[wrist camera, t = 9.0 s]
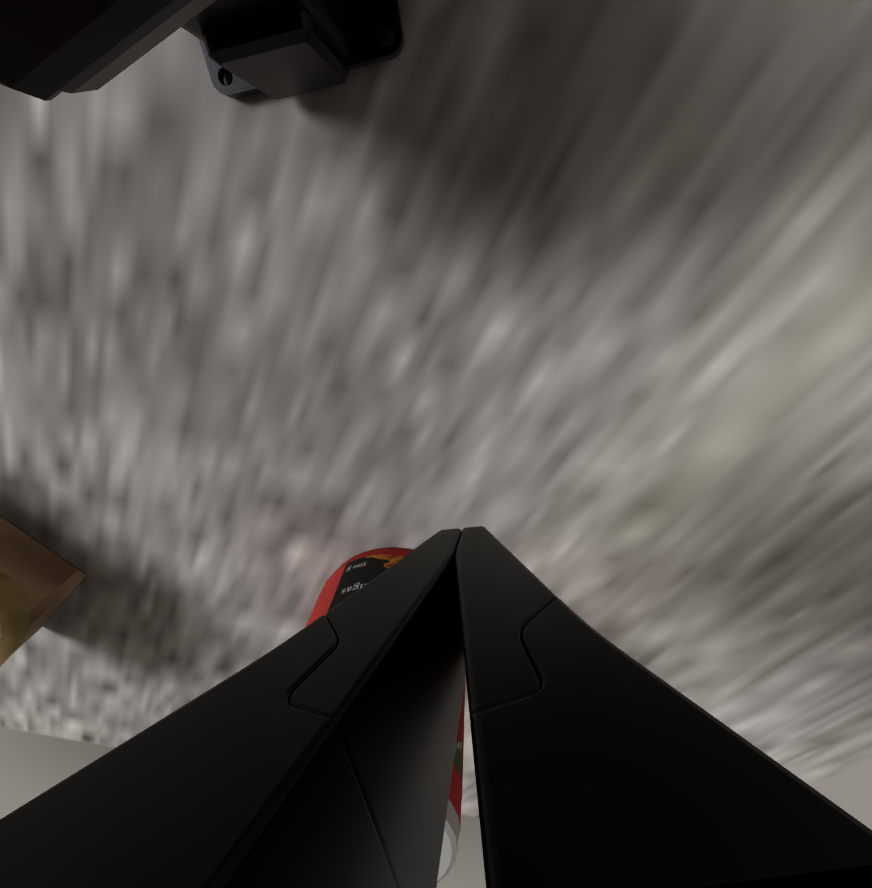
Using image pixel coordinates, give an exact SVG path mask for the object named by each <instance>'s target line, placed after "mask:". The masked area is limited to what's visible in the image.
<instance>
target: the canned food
mask: <svg viewBox="0 0 872 888" xmlns="http://www.w3.org/2000/svg"><path fill="white" fill-rule="evenodd" d="M410 552H411V550H407V549H399V548H382V549H375V550H370V551H366V552H363V553H361V554H359V555H356V556H354V557H352V558H351V559H349V560H348V561H347V562H345V563H344V564H343V565H342V566H340V567H339V568H338V569H337V570H336V571H335V573H334V574H333V575H332V576H331V577H330V578H329V579H328V580H327V582H326V583H325V585H324V587H323V589H322V591H321V593H320V595H319V598H318V600H317V602H316V604H315V607H314V609H313V611H312V614H311V616H310V618H309V620H308V623H307V625H306V627H307V626H308V625H310V624H311V623H312V622H314V621H315V620H316V619H318V618H319V617H320V616H322V615H324V616H325V615H326V613H327V612H329V611H330V610H331V609H333V608H334V607H336V606H337V605H338V604H340V603H341V602H342V601H344V600H345V599H347V598H348V597H349V596H351V595H352V594H354V593H355V592H356V591H358V590H359V589H360V588H362V587H363V586H365V585H366V584H367V583H369V582H370V581H371V580H373V579H374V578H376V577H377V576H378V575H380V574H381V573H382V572H384V571H385V570H387V569H388V568H389V567H391V566H392V565H393V564H395V563H396V562H398V561H399V560H400V559H402V558H403V557H405V556H406V555H407V554H409V553H410ZM464 706H465V682H464V690H463V697H462V704H461V712H460V719H459V726H458V733H457V741H456V748H455V755H454V763H453V770H452V777H451V784H450V792H449V799H448V806H447V814H446V821H445V828H444V835H443V843H442V850H441V857H440V865H439V872H438V879H437V883H438V882H440V881H441V880H442V879H443V878H444V877H445V876H446V875H447V874H448V873H449V871H450V870H451V868H452V867H453V865H454V863H455V860H456V855H457V850H458V839H459V834H460V823H461V822H460V821H461V800H462V779H463V743H464Z"/></svg>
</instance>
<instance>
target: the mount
mask: <svg viewBox="0 0 872 888" xmlns="http://www.w3.org/2000/svg"><path fill="white" fill-rule="evenodd" d="M0 571H1V572H2V573H4V574H6V575H8V576H9V577H10V578H12V579H13V580H14V581H15V582H16V583H17V584H18V585H19V586H20V587H21V589H22V590H23V591H24V593H25V595H26V597H27V599H28V602H29V606H30V622H29V627H28V630H27V632H26V635H25V637H24V638H23V640H22V642H21V643H20V645H19V646H18V647H17V649H18V648H19V647H21V646H22V645H23V644H24V643H25V642H26V641H27V640H28V639H29V638H30V637H31V636H33V635H34V634H35V633H36V632H37V631H38V630H39V629H40V628H41V627H42V626H43V625H44V624H45V623H46V622H47V620H48V619H49V618H50V617H51V616H52V615H53V613H54V612H55V611H56V610H57V609H58V608H59V607H60V605H61V604H62V603H63V602H64V601H65V600H66V599H67V597H68V596H69V595H70V594H71V593H72V592H73V590H74V589H75V588H76V587H77V586H78V585H79V584H80V582H81V581H82V580H83V579H84V578H85V577H86V575H85V574H84V573H82V572H81V571H80V570H78V569H77V568H75V567H74V566H72V565H71V564H69V563H68V562H66V561H65V560H63V559H62V558H60V557H59V556H58V555H56V554H55V553H53V552H52V551H50V550H49V549H47V548H46V547H44V546H43V545H41V544H40V543H39V542H37V541H36V540H34V539H33V538H31V537H30V536H28V535H27V534H25V533H24V532H22V531H21V530H19V529H18V528H17V527H15V526H14V525H12V524H11V523H9V522H8V521H6V520H5V519H3V518H2V517H0ZM17 649H16V650H17ZM16 650H15V651H16ZM15 651H14V652H15ZM14 652H13V653H14ZM13 653H12V654H13Z"/></svg>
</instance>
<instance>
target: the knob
mask: <svg viewBox="0 0 872 888" xmlns="http://www.w3.org/2000/svg"><path fill="white" fill-rule="evenodd" d="M29 622H30V606H29V602H28V599H27V597H26V595H25V593H24V591H23V590H22V589H21V587H20V586H19V585H18V584H17V583H16V582H15V581H14V580H13V579H12V578H10V577H9V576H8V575H6V574H4V573H2V572H1V571H0V667H1V666H2V665H3V664H4V663H5V662H6V660H7V659H8V658H9V657H10V656H11V655H12V653H13V652H14V651H15V650H16V649H17V647H18V646H19V645H20V643H21V642H22V640H23V638H24V637H25V635H26V632H27V630H28V627H29Z"/></svg>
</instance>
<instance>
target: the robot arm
mask: <svg viewBox="0 0 872 888" xmlns="http://www.w3.org/2000/svg"><path fill="white" fill-rule="evenodd" d="M180 27H182V28H184V29H185V30H187V31H188V32H190V33H191V34H193V35H194V36H196V37H197V38H199V40H200V44H201V47H202V50H203V54H204V57H205V60H206V64H207V67H208V70H209V74H210V77H211V80H212V83H213V85H214V87H215V88H216V89H217V90H218V91H219V92H220V93H222V94H224V95H226V96H228V97H230V98H237V97H241V96H245V95H249V94H253V93H257V92H261V91H262V92H264V93H266V94H267V95H269V96H270V97H272V98H274V99H281V98H285V97H289V96H293V95H297V94H301V93H305V92H309V91H314V90H318V89H322V88H326V87H330V86H334V85H338V84H342V83H344V82H345V81H346V79H347V77H348V75H349V71H348V70H350V69H354V68H358V67H363V66H367V65H371V64H375V63H379V62H383V61H387V60H391V59H393V58H395V57H397V56H398V55H399V54H400V52H401V51H402V48H403V45H404V34H403V28H402V22H401V15H400V9H399V3H398V0H0V84H1V85H4V86H6V87H9V88H11V89H14V90H17V91H20V92H23V93H25V94H28V95H31V96H34V97H37V98H39V99H42V100H45V101H46V100H52V99H53V98H54V97H56V96H57V95H58V94H59V93H61V92H62V91H63V92H67V93H77V92H84V91H91V90H98V89H99V88H101V87H102V86H103V85H105V84H106V83H107V82H109V81H110V80H111V79H113V78H114V77H115V76H117V75H118V74H119V73H121V72H122V71H123V70H125V69H126V68H127V67H128V66H130V65H131V64H132V63H134V62H135V61H136V60H138V59H139V58H140V57H142V56H143V55H144V54H146V53H147V52H148V51H150V50H151V49H152V48H154V47H155V46H156V45H158V44H159V43H160V42H162V41H163V40H164V39H166V38H167V37H168V36H170V35H171V34H172V33H173V32H175V31H176V30H177V29H179V28H180ZM386 30H391V31H392V32H394V41H393V43H392V44H391V45H389V46H384V45H383V44H381V36H382V34H383V32H385V31H386ZM227 71H229V72H231V73H232V75H233V81H232V83H231V84H230V85H229V86H226V85H225V83H224V74H225V73H226V72H227ZM465 675H466V681H467V691H468V702H469V712H470V721H471V734H472V744H473V755H474V765H475V776H476V786H477V796H478V807H479V817H480V827H481V838H482V848H483V859H484V868H485V880H486V888H872V830H871V829H869V828H868V827H867V826H865V825H864V824H862V823H861V822H860V821H858V820H857V819H855V818H854V817H853V816H851V815H850V814H848V813H847V812H846V811H844V810H843V809H841V808H840V807H839V806H837V805H836V804H835V803H833V802H832V801H830V800H829V799H827V798H826V797H825V796H823V795H822V794H820V793H819V792H818V791H816V790H815V789H814V788H812V787H811V786H809V785H808V784H807V783H805V782H804V781H803V780H801V779H800V778H798V777H797V776H796V775H794V774H793V773H791V772H790V771H789V770H787V769H786V768H784V767H783V766H782V765H780V764H779V763H777V762H776V761H775V760H773V759H772V758H771V757H769V756H768V755H766V754H765V753H764V752H762V751H761V750H759V749H758V748H757V747H755V746H754V745H752V744H751V743H750V742H748V741H747V740H745V739H744V738H743V737H741V736H740V735H739V734H737V733H736V732H734V731H733V730H732V729H730V728H729V727H727V726H726V725H725V724H723V723H722V722H720V721H719V720H718V719H716V718H715V717H713V716H712V715H711V714H709V713H708V712H706V711H705V710H704V709H702V708H701V707H700V706H698V705H697V704H695V703H694V702H693V701H691V700H690V699H688V698H687V697H686V696H684V695H683V694H681V693H680V692H679V691H677V690H676V689H674V688H673V687H672V686H670V685H669V684H668V683H666V682H665V681H663V680H662V679H661V678H659V677H658V676H656V675H655V674H654V673H652V672H651V671H649V670H648V669H647V668H645V667H644V666H642V665H641V664H640V663H638V662H637V661H635V660H634V659H633V658H631V657H630V656H629V655H627V654H626V653H624V652H623V651H622V650H620V649H619V648H617V647H616V646H615V645H614V644H612V643H611V642H610V641H608V640H607V639H606V638H604V637H603V636H602V635H600V634H599V633H598V632H597V631H595V630H594V629H593V628H591V627H590V626H589V625H588V624H587V623H586V622H585V621H583V620H582V619H581V618H580V617H579V616H578V615H577V614H576V613H574V612H573V611H572V610H571V609H570V608H569V607H568V606H567V605H566V604H565V603H564V602H563V601H562V600H560V599H558V598H557V597H556V596H555V595H554V594H553V593H552V592H551V591H550V590H549V589H548V588H547V587H546V586H545V585H544V584H543V583H542V582H541V581H540V580H539V579H538V578H537V577H536V576H535V575H534V574H533V573H531V572H530V571H529V570H528V569H527V568H526V567H525V566H524V565H523V564H522V563H521V562H520V561H519V560H518V559H517V558H516V557H515V556H514V555H513V554H512V553H511V552H510V551H509V550H508V549H507V548H505V547H504V546H503V545H502V544H501V543H500V542H499V541H498V540H497V539H496V538H495V537H494V536H493V535H492V534H491V533H490V532H489V531H488V530H487V529H486V528H485V527H482V526H480V527H469V528H464V529H463V530H462V531H461V530H460V529H447V530H441V531H439V532H438V533H436V534H435V535H433V536H432V537H431V538H429V539H428V540H427V541H425V542H424V543H422V544H421V545H420V546H418V547H417V548H416V549H414V550H413V551H411V552H410V553H409V554H407V555H406V556H405V557H403V558H402V559H400V560H399V561H398V562H396V563H395V564H393V565H392V566H391V567H389V568H388V569H387V570H385V571H384V572H382V573H381V574H380V575H378V576H377V577H376V578H374V579H373V580H371V581H370V582H369V583H367V584H366V585H365V586H363V587H362V588H360V589H359V590H358V591H356V592H355V593H354V594H352V595H351V596H349V597H348V598H347V599H345V600H344V601H342V602H341V603H340V604H338V605H337V606H336V607H334V608H333V609H331V610H330V611H329V612H327V613H326V615H325V616H324V615H322V616H320V617H319V618H318V619H316V620H315V621H314V622H312V623H311V624H310V625H308V626H307V627H305V628H304V629H302V630H301V631H300V632H298V633H297V634H295V635H294V636H292V637H291V638H289V639H288V640H287V641H285V642H284V643H282V644H281V645H279V646H278V647H276V648H275V649H273V650H272V651H270V652H268V653H267V654H265V655H264V656H262V657H261V658H259V659H258V660H256V661H254V662H253V663H251V664H250V665H248V666H247V667H245V668H243V669H242V670H240V671H239V672H237V673H235V674H234V675H232V676H231V677H229V678H227V679H226V680H224V681H223V682H221V683H219V684H218V685H216V686H214V687H213V688H211V689H210V690H208V691H206V692H205V693H203V694H202V695H200V696H198V697H197V698H195V699H194V700H192V701H190V702H189V703H187V704H186V705H184V706H182V707H181V708H179V709H177V710H176V711H174V712H173V713H171V714H169V715H168V716H166V717H165V718H163V719H161V720H160V721H158V722H157V723H155V724H153V725H152V726H150V727H149V728H147V729H145V730H144V731H142V732H140V733H139V734H137V735H136V736H134V737H132V738H131V739H129V740H128V741H126V742H124V743H123V744H121V745H120V746H118V747H116V748H115V749H113V750H111V751H110V752H108V753H107V754H105V755H103V756H102V757H100V758H99V759H97V760H95V761H94V762H92V763H91V764H89V765H87V766H86V767H84V768H83V769H81V770H79V771H78V772H76V773H75V774H73V775H71V776H70V777H68V778H66V779H65V780H63V781H62V782H60V783H58V784H57V785H55V786H54V787H52V788H50V789H49V790H47V791H46V792H44V793H42V794H41V795H39V796H37V797H36V798H34V799H33V800H31V801H29V802H28V803H26V804H25V805H23V806H21V807H20V808H18V809H17V810H15V811H13V812H12V813H10V814H8V815H7V816H5V817H4V818H2V819H0V888H436V886H437V879H438V872H439V865H440V857H441V850H442V843H443V835H444V828H445V821H446V814H447V806H448V799H449V792H450V784H451V777H452V770H453V763H454V755H455V748H456V741H457V733H458V726H459V719H460V712H461V704H462V697H463V690H464V682H465Z"/></svg>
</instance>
